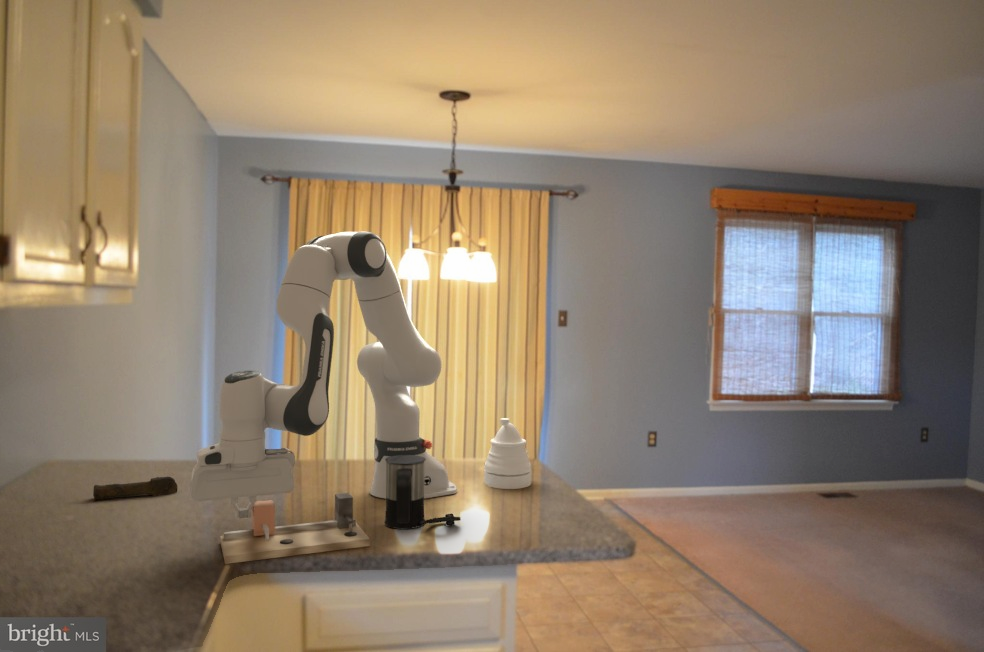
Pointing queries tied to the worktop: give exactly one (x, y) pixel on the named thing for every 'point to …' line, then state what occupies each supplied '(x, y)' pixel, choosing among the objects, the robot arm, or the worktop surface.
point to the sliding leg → (263, 518)
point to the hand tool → (136, 488)
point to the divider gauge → (298, 537)
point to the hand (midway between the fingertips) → (243, 517)
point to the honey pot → (507, 459)
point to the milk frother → (407, 493)
